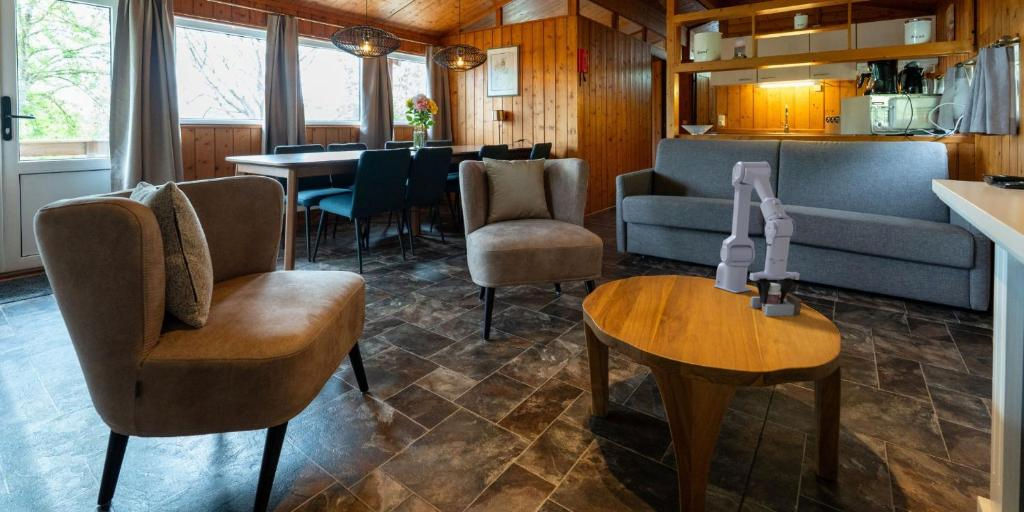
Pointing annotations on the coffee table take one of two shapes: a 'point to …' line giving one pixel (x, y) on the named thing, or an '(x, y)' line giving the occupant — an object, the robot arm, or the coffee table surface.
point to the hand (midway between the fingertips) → (771, 302)
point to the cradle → (774, 307)
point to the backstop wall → (794, 301)
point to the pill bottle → (773, 295)
